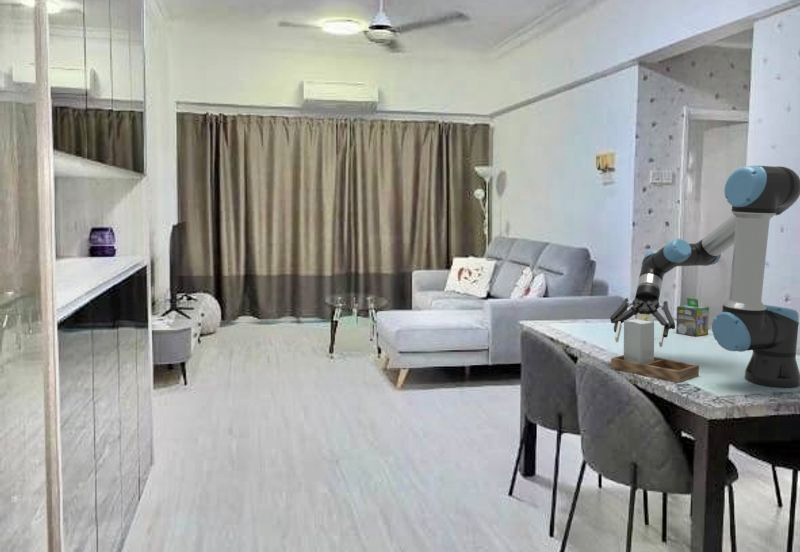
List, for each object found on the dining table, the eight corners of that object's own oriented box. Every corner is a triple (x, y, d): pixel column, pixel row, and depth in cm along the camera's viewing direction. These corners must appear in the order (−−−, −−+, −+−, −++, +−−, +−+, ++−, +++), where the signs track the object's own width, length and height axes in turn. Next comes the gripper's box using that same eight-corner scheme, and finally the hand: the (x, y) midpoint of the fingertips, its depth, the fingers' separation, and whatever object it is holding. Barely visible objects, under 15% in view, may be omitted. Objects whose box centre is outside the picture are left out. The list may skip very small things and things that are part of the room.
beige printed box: (633, 336, 283) (634, 312, 282) (651, 337, 282) (652, 312, 281) (635, 338, 279) (636, 313, 278) (653, 339, 278) (654, 314, 277)
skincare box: (654, 367, 227) (656, 322, 226) (639, 369, 225) (642, 323, 223) (635, 362, 235) (637, 317, 233) (621, 363, 233) (623, 319, 231)
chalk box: (708, 334, 289) (710, 298, 287) (695, 337, 284) (697, 300, 282) (688, 331, 297) (690, 296, 295) (675, 333, 291) (677, 297, 290)
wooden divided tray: (698, 375, 221) (699, 365, 221) (678, 382, 213) (678, 371, 212) (632, 362, 239) (632, 352, 238) (610, 368, 230) (611, 358, 230)
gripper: (688, 300, 235) (680, 353, 223) (612, 294, 247) (600, 344, 235) (687, 286, 230) (678, 339, 218) (609, 281, 241) (597, 331, 230)
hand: (638, 342), depth 227 cm, fingers open, 13 cm apart
